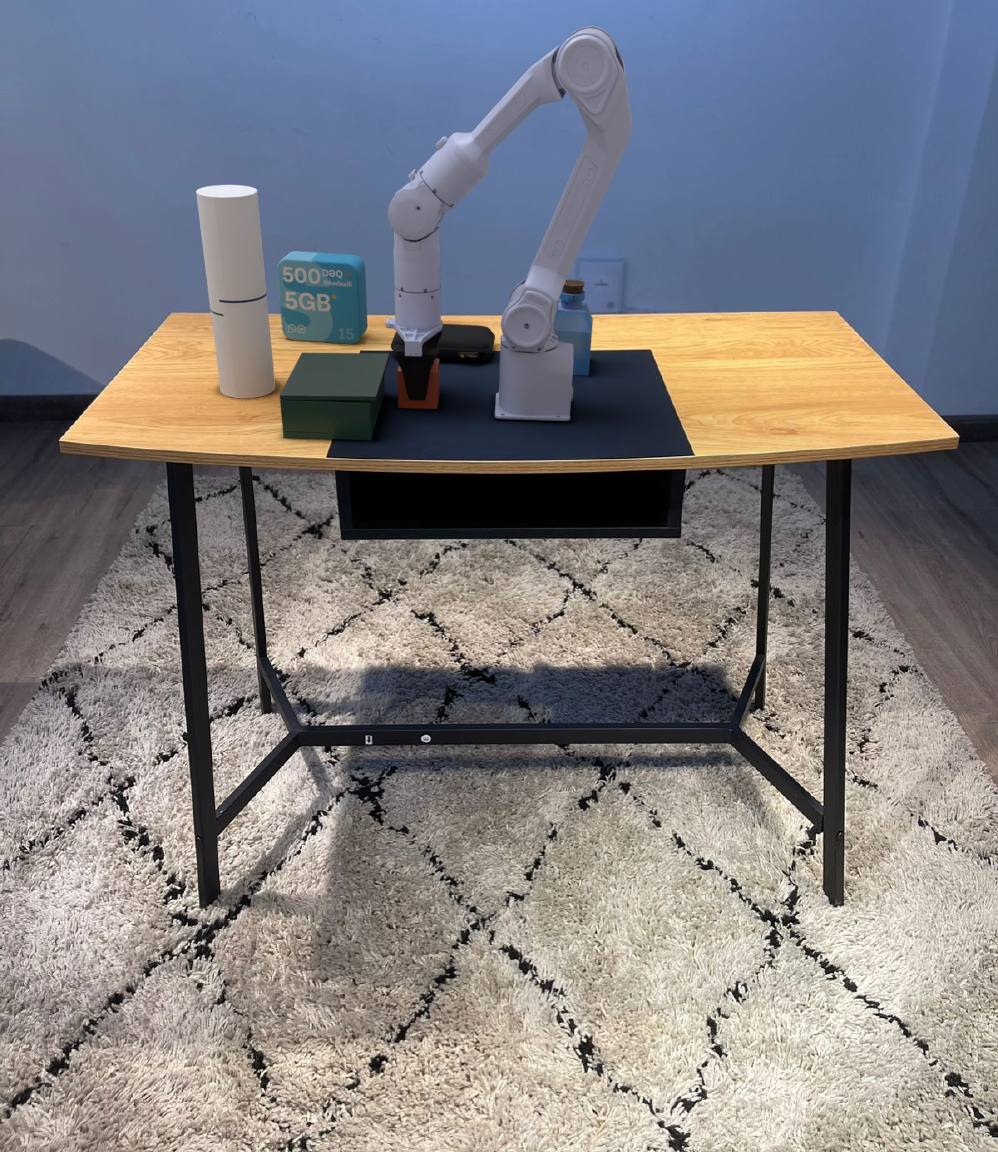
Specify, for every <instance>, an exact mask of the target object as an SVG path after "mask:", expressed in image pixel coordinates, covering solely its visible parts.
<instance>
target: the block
mask: <svg viewBox="0 0 998 1152" xmlns="http://www.w3.org/2000/svg"><path fill="white" fill-rule="evenodd" d="M396 373H397V376H396V377H397V408H398V409H419V410H420V409H421V410H428V409H429V410H438V405H439V399H440V394H441V393H440V359H435V361H434V363H433V365H432V368H431V372H430V377H429V384H428V390H427V395H426V398H425V400H409V398H408V394H407V391H406V386H405V381H404V377H403V374H402V371H401V368H400V366H399V365H398V368H397V371H396Z"/></svg>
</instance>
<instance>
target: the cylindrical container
mask: <svg viewBox="0 0 998 1152" xmlns="http://www.w3.org/2000/svg"><path fill="white" fill-rule="evenodd" d="M195 192H196V193H195V195H196V202H197V211H198V218H199V219H198V220H199V228H200V235H201V244H202V253H203V260H204V269H205V277H206V285H207V293H208V302H209V309H210V311H209V312H210V318H211V326H212V334H213V335H212V336H213V343H214V351H215V358H216V359H215V360H216V367H217V375H218V383H219V391H220V393H221V394H223V396H226V397H229V398H233V399H254V398H260V397H264V396H267V395H269V394H271V393H273V392H274V391H275V390H276V380H275V370H274V359H273V348H272V347H273V346H272V336H271V325H270V316H269V315H270V313H269V303H268V294H267V282H266V272H265V271H266V270H265V261H264V259H265V258H264V249H263V238H262V227H261V217H260V215H261V214H260V207H259V206H260V204H259V195H258V189H257V188H255V187H253V186H248V185H240V184H217V185H216V184H215V185H209V186H204V187H200V188H197V190H196V191H195Z"/></svg>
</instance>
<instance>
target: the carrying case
mask: <svg viewBox="0 0 998 1152" xmlns="http://www.w3.org/2000/svg"><path fill="white" fill-rule="evenodd" d="M495 341H496V334H495V333H494V332H493V331H492V329H491V328H490V327H489V326H486V325H481V324H480V325H478V324H457V323H442V335H441V337H440V339H439V341H438V343H437V346H436V348H439V352H438V355H437V357H436V359H439V361H442V360H443V361H464V362H465V361H467V362H468V361H470V362H482V361H485V360H487V359H488V358H489V357H490V356H491V355H492V354H493V352H494V346H495ZM394 344H402V345H404V344H403V341H402V339H401V337H400V335H399V334H398V333H397V332H396V331H395V333H394V336H393V338H392V340H391V342H390V348H391V350H392V351H393V346H394Z"/></svg>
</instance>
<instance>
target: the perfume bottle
mask: <svg viewBox="0 0 998 1152" xmlns="http://www.w3.org/2000/svg"><path fill="white" fill-rule="evenodd" d="M584 287H585V282H584V281H583V280H580V279H571V278H570V279H566V281H565V284H564V286H563V289H562V292H561V294H560V297H559V300H560V301H558V311H557V313H556V316H555V319H554V323H553V330H554V332H555V334H556V335H557V336H558V341H559V342H563V343H570V344H573V376H585V377H588V376H589V373H590V363H591V348H592V336H593V323H594V318H593V316H592V314H591V311H590V309H589V307H588V304H587V303H586V302H583V301H585V298H586V297H585V296H586V291H585V290H584Z"/></svg>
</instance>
